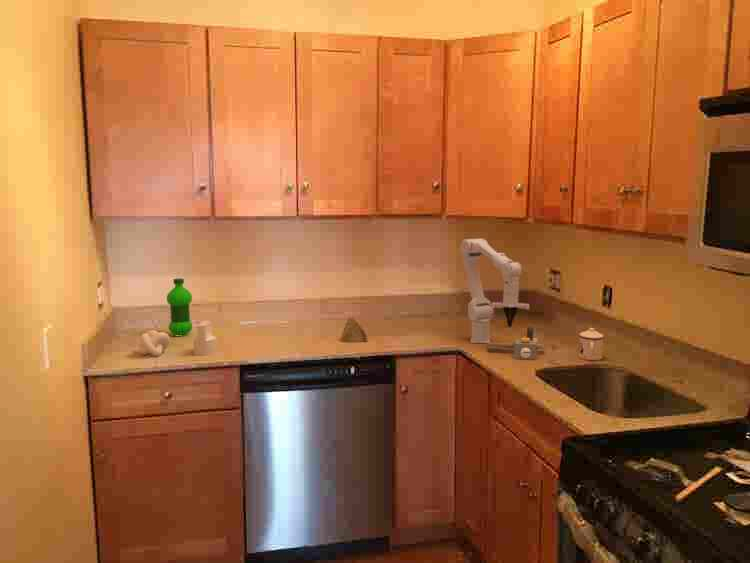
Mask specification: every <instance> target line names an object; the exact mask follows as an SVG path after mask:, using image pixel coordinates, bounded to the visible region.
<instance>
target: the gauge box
mask: <svg viewBox="0 0 750 563" xmlns="http://www.w3.org/2000/svg"><path fill="white" fill-rule="evenodd" d="M513 343H514V353H513V357H514V359H515V360H530V359H536V360H537V354H536V349H537V344H536V341H530V342H529V343H524V342H521V339H514V341H513Z"/></svg>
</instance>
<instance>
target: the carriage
mask: <svg viewBox="0 0 750 563" xmlns="http://www.w3.org/2000/svg"><path fill="white" fill-rule="evenodd" d="M526 337H527V338H530V341H536V344H537V348H538V344H539V340H538V338H536V337H534V327H532V326H527V329H526Z"/></svg>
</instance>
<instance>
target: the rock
mask: <svg viewBox="0 0 750 563" xmlns="http://www.w3.org/2000/svg"><path fill="white" fill-rule="evenodd" d="M367 341H368V336H367V333H366V332H365V329H363V328H362V326H361V325H360V323H359V322H358V321H356V320H355V319H354V318H353V317H348V318H347V321H346V322H345V324H344V328H343V331H342V334H341V337H340V343H345V342H346V343H353V342H354V343H355V342H356V343H359V342H360V343H361V342H367Z"/></svg>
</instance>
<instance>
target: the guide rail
mask: <svg viewBox="0 0 750 563" xmlns="http://www.w3.org/2000/svg"><path fill="white" fill-rule="evenodd" d="M489 346H495V347H514V342H513V343H511V342H510V343H509V342H491V341H490V342H489ZM542 346H543V344H540V343H538V348H542Z"/></svg>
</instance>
